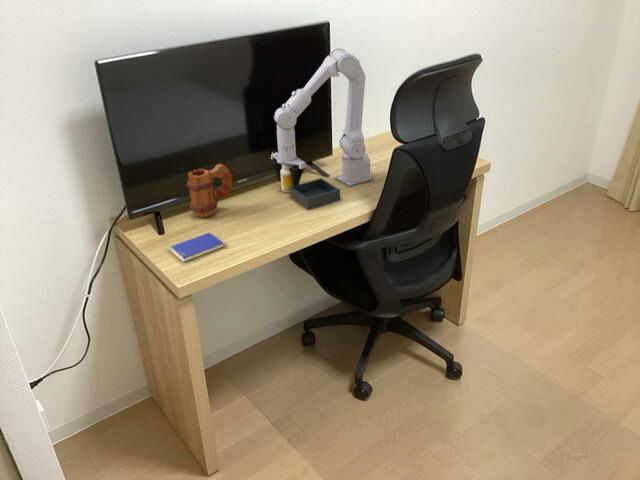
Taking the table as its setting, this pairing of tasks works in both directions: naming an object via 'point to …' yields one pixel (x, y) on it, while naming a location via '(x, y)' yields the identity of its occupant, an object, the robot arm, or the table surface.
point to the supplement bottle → (286, 177)
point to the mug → (207, 189)
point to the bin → (315, 193)
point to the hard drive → (196, 246)
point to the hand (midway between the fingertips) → (288, 183)
